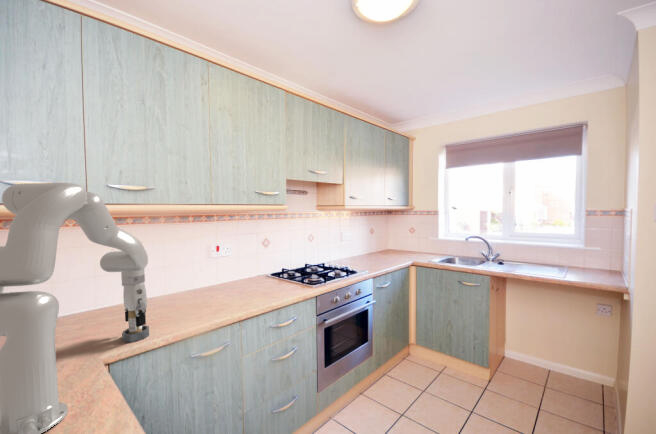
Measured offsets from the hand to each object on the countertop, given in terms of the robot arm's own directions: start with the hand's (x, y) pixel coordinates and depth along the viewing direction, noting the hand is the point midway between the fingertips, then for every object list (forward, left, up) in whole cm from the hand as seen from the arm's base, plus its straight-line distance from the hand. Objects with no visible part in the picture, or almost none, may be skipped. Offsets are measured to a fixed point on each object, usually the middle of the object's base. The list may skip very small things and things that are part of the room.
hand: (135, 322), depth 112 cm
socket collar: (0, 0, -6) cm, 6 cm away
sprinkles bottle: (0, 0, -6) cm, 6 cm away
